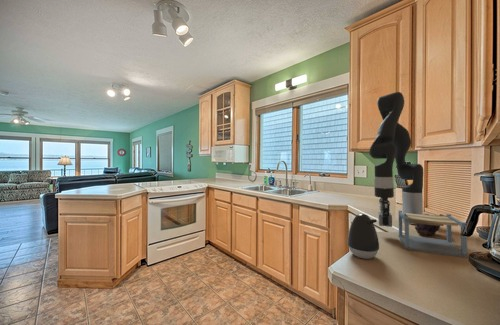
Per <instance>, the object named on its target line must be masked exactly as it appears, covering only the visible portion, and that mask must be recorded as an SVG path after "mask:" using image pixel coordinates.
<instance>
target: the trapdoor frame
mask: <svg viewBox="0 0 500 325" xmlns="http://www.w3.org/2000/svg"><path fill="white" fill-rule="evenodd" d="M397 214H398V238H399V240H400V241H401V243H402V245H403V247H404V248H405V250H408V251H414V252H415V251H417V252H423V253H430V254H438V255H443V256H451V257H460V258H465V257H466V259H469V254H468V238H467V237H468V236H461V235H460V247H459V246H457V245H456V244H455V243H454V242H453V240H452V225H446V239H442V238H432V237H426V236H414V235H410V224H409V218H408V217H406V216H405V215H404V214H403V213H402V210H398V213H397ZM445 216H446V217H449V218H450V219H451V220H453V221H455V222H457V223H458V226H460V234H461V233H462V231H463V228H464V226H465V230H464V232H466V233H468V231H467V230H468V228H467V222H466V221H465V222H464V221H461V220H459V219H457V218H455V217H454V216H452V214H449V213H447V214H446V215H445ZM403 220H404V222H403ZM403 223H404V234H403ZM465 224H466V225H465Z"/></svg>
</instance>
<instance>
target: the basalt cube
mask: <svg viewBox="0 0 500 325" xmlns="http://www.w3.org/2000/svg"><path fill="white" fill-rule="evenodd" d="M385 214H387V213H385ZM389 215H390V216H389V217H388V222H389V225H383V218H382V213H381V212H377V224H378V227H387V228H389V227H390V228H391V227H393V215H392V213H391V212H389Z"/></svg>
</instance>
